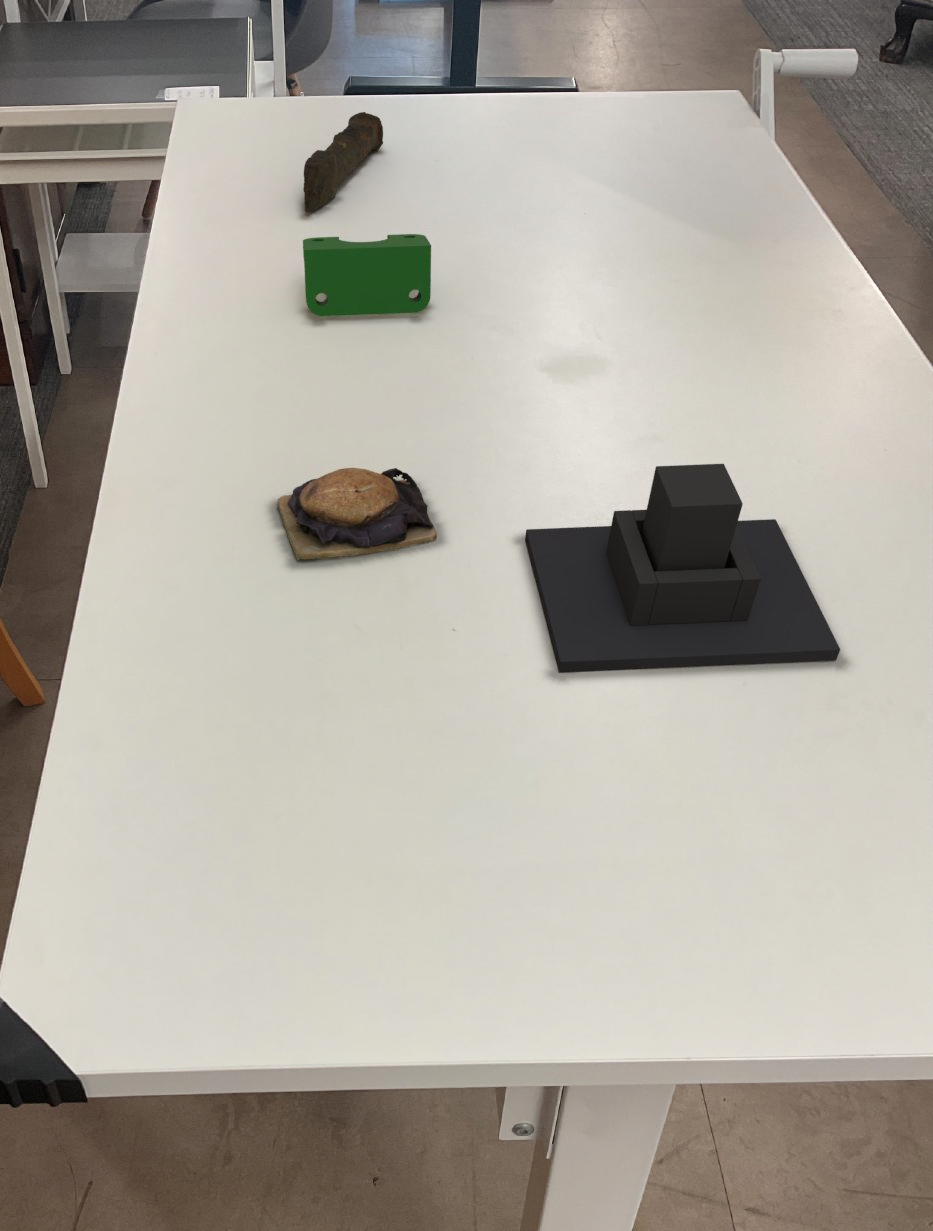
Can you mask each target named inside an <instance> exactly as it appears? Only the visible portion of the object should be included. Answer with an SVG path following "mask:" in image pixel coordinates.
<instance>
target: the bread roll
mask: <svg viewBox="0 0 933 1231" xmlns="http://www.w3.org/2000/svg"><path fill="white" fill-rule="evenodd" d="M398 477H400V478H401V480H400V479H399V480H398ZM396 478H397V479H396ZM276 507H277V509H278V510H279V514H280V518H281V520H282V524H283V525H284V528H285V530H286V535H287V537H288V540H289V543H290V545H291V548H292V550H293V553H294V555H295V556H294V558H296V560H297V561H299V560H317V559H319V560H321V559H323V560H324V559H329V558H332V559H334V558H337V557H339V559H341V558H342V557H347V556H349V557H354V556H358V554H359V555H364V556H366V555H367V554H371V553H372V554H373V553H381V552H382V551H389V550H394V551H395V552H396V551H398V550H399V549H400V548H404V547H410V546H412V545H425V544H426V543H430V542H434V541H437V538H438V534H437V530H436V528H435V525H434V524H433V522H432V520H431V518H430V516H429V514H428V504H427V503H426V502H425V499H424V497H423V494H422V492H421V490H420V488H419V486H418V484H417V483H416V481H415V480H414V478H413V477H412V476H411V475H409V473H407V472H404V471H402V470H400V469H398V468H397V467H395V468H390V469H387V470H384V471H382V472H381V473H379V472H376V471H373V470H369V469H366V468H358V467H346V468H339V469H336V470H334V471H331V472H328V473H326V474H324V475H321V476H320V477H318V478H313V479H310V480H307V481H306V482H304V483H301V485H298V486H296V487H295V488H293V490H292V494H285V495H282V496H280V497H279V498H277V502H276Z"/></svg>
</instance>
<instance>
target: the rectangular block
mask: <svg viewBox="0 0 933 1231" xmlns="http://www.w3.org/2000/svg"><path fill="white" fill-rule="evenodd" d="M648 496H649V497H648V500H647V501H648V502H647V506H646V509H645V510H646V515H645V520H644V524H643V529H642V534H641V538H642V541H643V544H644V546H645V549H646V552H647V555H648V557H649V560H650V563H651V566H652V568H653V571H654V572H656V571H679V570H703V569H724V568H725V564H726V561H727V557H728V554H729V550H730V547H731V543H732V540H733V536H734V533H735V529H736V526H737V522H738V521H739V518H740V515H741V511H742V508H743V501H742V499H741V497H740V495H739V492H738V490H737V488H736V486H735V484H734V482H733V480H732V477H731V475H730V473H729V471H728V470H727V468H726V465H725V464H724V463H706V464H705V463H703V464H681V465H680V464H679V465H677V464H676V465H656V466H655V469H654V472H653V478H652V483H651V488H650V491H649V495H648Z"/></svg>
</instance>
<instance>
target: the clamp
mask: <svg viewBox="0 0 933 1231" xmlns="http://www.w3.org/2000/svg"><path fill="white" fill-rule="evenodd" d="M386 237H387V238H386V239H382V240H375V241H374V240H373V241H348V240H342V239H340V236H322V237H321V236H320V237H318V236H317V237H309V238H304V239H302V253H303V254H302V256H303V265H304V266H303V268H304V269H303V270H304V292H305V302H306V303H305V304H306V306H307V309H308V310H309V312H310V313H311V314H313V315H314V316H316V317H343V316H344V317H345V316H367V315H370V316H371V315H394V314H398V315H399V314H417V313H420V312H422V311H424V310H425V309H427V307H428V305H429V304H430V301H431V293H432V292H431V290H432V289H431V286H432V244H431V243H430V241H429V239H428V238H427V237H426V235H425V234H419V233H403V234H402V233H401V234H399V233H398V234H387V236H386ZM412 291H417V295H416V296H414V297H410V293H411V292H412ZM321 294H324V295H325V296H326V298H325V299H324V300H322V301H321V300H318V299H317V297H318V296H319V295H321Z"/></svg>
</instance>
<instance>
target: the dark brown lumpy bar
mask: <svg viewBox="0 0 933 1231" xmlns="http://www.w3.org/2000/svg"><path fill="white" fill-rule="evenodd" d="M332 138H333V139H332V142H331V143H330V144H329V145H328V147H327V148H326V149H325V150H321V149H317V150H316V151H314V152H313V153H312V154H311V155H310V157H307V159H306V161H305V163H304V167H303V191H302V192H303V193H304V194H303V196H304V212H305V213H310V212H313V211H316V210H317V209H320V208H322V207H323V206H324V205H325V204H327V203H328V202H331V201H332V200H333V199H335V197H336V195H337V194H336V193H337V188H338V186H339V185H340V184H341V183H342V182H343V181H344V180H345V179H346V178H347V177H348V176H350V175H351V174H352V173H353V171H354V169H355V168H356V167H357V166H358V165H359V164H360V163H362V162H363V160H364V159H366V157H367V156H368V154H369V153H370V152H371V153H377V152H379V150H380V149H381V148H382V146H383V145H384V141H383V139H384V127H383V124H382V120H381V118H380V117H378V116H377V115H374V114H372V113H368V112H366V111H362V112H358V113H355V114H353V115H352V116H350V117H349V119H348V123H347V126H346V127H345V128H343V130H342V131H340V132H338V133H336V134H334V136H333V137H332Z"/></svg>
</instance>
